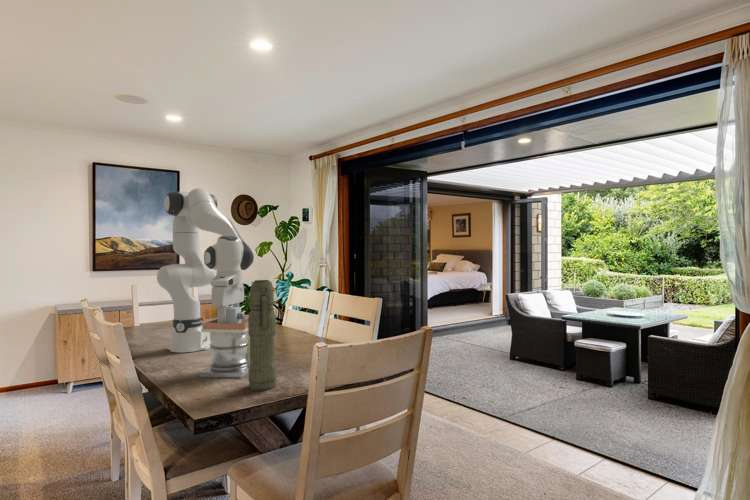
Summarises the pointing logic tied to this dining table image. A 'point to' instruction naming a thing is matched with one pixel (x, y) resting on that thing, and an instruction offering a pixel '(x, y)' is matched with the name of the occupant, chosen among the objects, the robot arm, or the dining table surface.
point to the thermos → (262, 336)
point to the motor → (227, 349)
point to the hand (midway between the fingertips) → (229, 316)
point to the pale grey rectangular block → (231, 315)
